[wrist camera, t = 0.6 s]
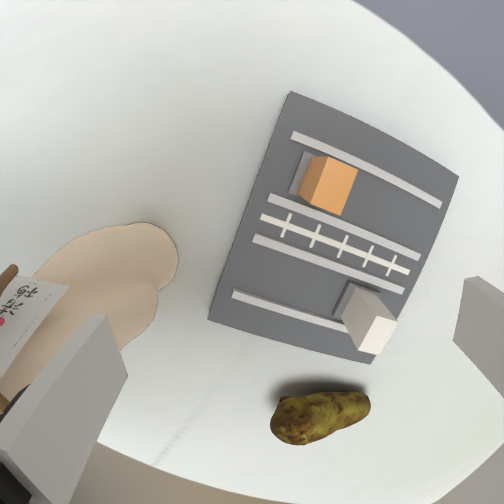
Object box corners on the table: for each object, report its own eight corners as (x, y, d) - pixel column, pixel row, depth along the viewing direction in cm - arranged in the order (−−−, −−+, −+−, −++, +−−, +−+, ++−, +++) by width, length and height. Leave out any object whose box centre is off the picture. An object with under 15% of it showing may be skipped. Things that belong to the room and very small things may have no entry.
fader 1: (287, 191, 29) (298, 202, 22) (302, 151, 28) (319, 149, 21) (326, 207, 29) (348, 222, 22) (342, 167, 28) (368, 171, 21)
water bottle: (94, 213, 31) (-132, 341, 4) (169, 195, 31) (-78, 352, 4) (118, 299, 34) (-23, 497, 7) (191, 289, 34) (95, 549, 7)
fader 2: (331, 313, 32) (348, 350, 26) (347, 279, 31) (370, 311, 24) (362, 322, 33) (384, 358, 26) (379, 290, 32) (406, 322, 25)
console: (209, 310, 34) (206, 322, 32) (287, 94, 28) (291, 89, 25) (365, 355, 36) (371, 367, 34) (449, 174, 30) (462, 177, 27)
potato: (337, 425, 40) (349, 465, 33) (259, 403, 39) (261, 448, 31) (371, 386, 38) (390, 426, 30) (291, 359, 36) (299, 404, 29)
